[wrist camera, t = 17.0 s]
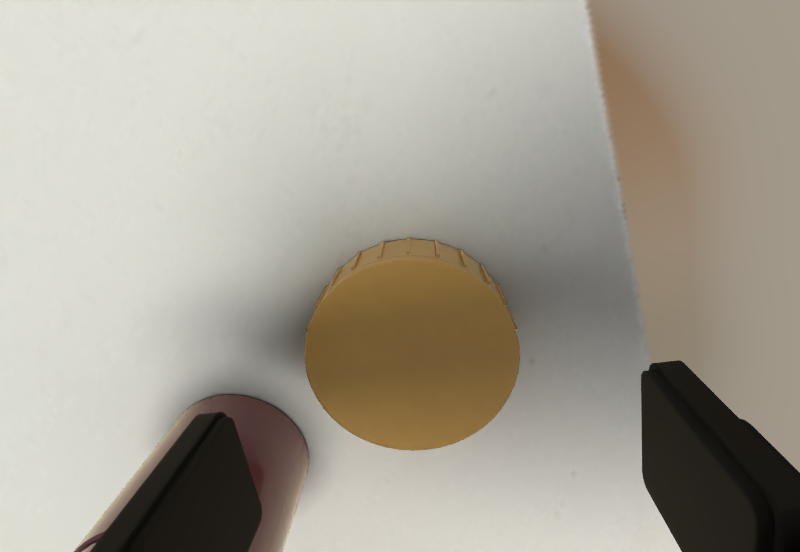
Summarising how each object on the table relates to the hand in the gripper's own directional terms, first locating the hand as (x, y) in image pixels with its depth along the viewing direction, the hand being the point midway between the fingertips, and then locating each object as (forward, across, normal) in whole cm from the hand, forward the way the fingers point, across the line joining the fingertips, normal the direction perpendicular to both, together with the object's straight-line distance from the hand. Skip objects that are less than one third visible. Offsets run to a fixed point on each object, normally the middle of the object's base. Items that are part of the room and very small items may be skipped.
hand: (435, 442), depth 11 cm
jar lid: (+4, +1, 0) cm, 4 cm away
